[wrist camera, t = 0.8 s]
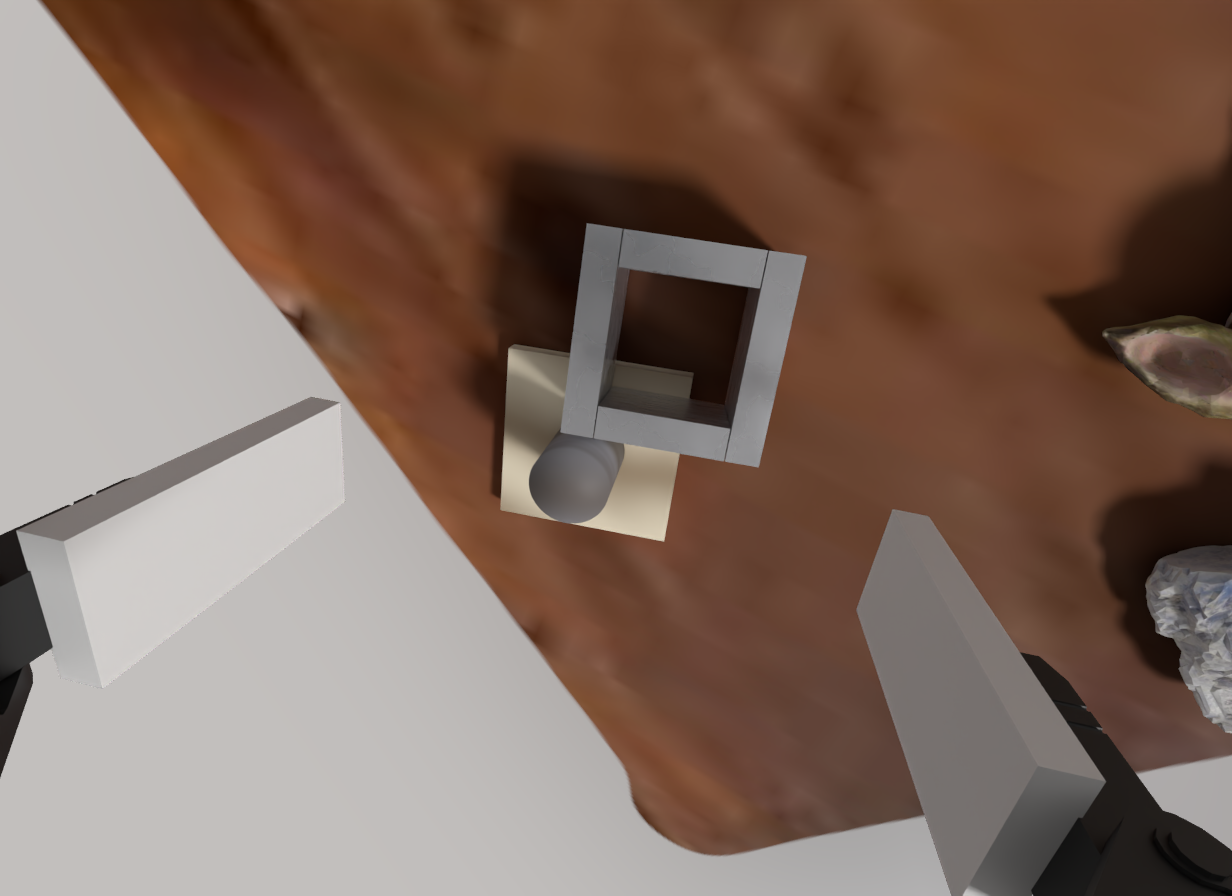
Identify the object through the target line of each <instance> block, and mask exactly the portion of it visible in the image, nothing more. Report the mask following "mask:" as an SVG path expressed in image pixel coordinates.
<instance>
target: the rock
mask: <svg viewBox="0 0 1232 896" xmlns="http://www.w3.org/2000/svg"><path fill="white" fill-rule="evenodd" d="M1145 587H1146V590H1147V594H1146V598H1147V606H1148V608H1149V611H1150V613H1151V616H1152V617H1153V619H1154V620H1155V628H1156V632H1157V633H1159V634H1161V635H1163V636H1166V637H1170V638H1174V640H1175V642H1176V644H1177V646H1178V647H1179V648H1180V650H1181V657H1180V659H1179V661H1180V666H1181V667H1180V668H1178V669H1179V671H1180V673H1181V676H1182V678H1183V680H1184V682H1185V684H1186V685H1187V686H1188V689H1189V690H1192V691H1193V693H1194V698H1195V700H1196V701H1197V703H1198V705H1199V706H1200V708H1201V710H1202V713H1203V716H1205V717H1207V718H1208V719H1209V720H1210V721H1211V722H1212V723H1215V724H1217V725H1218V726H1219V727H1220V728H1221V729H1222V730H1223V731H1224V732H1228V733H1232V545H1226V546H1215V545H1212V546H1202V547H1194V548H1190V549H1187V550H1183V551H1179V552H1178V553H1175V554H1171V555H1167V556H1165V557H1163V558H1161V559H1159V560H1158V562H1157V563H1156V565H1155V567H1154V569H1153V572H1152V574H1151V575H1150V576H1149V577H1148V579H1147V581H1146V584H1145Z"/></svg>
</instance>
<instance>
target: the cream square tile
mask: <svg viewBox="0 0 1232 896" xmlns="http://www.w3.org/2000/svg"><path fill="white" fill-rule="evenodd" d="M569 360H570V353H567V352H560V351H554V350H548V349H542V348H535V347H529V346H523V345H517V344H514V345H512V346H511V347H509V348H508V368H507V388H506V409H505V429H504V449H503V469H502V489H501V509H500V510H503V511H508V512H513V513H519V514H524V515H529V516H534V517H539V518H545V519H550V520H555V521H560V522H564V523H571V524H576V525H581V526H586V527H592V528H597V529H602V530H607V531H612V532H618V533H623V534H628V535H633V536H638V537H644V538H649V539H654V540H659V541H664V539H665V533H666V527H667V522H668V516H669V510H670V505H671V499H672V493H673V488H674V482H675V476H676V471H677V465H678V459H679V454H680V453H674V452H669V451H663V450H657V449H652V448H646V447H640V446H634V445H629V444H623V443H617V442H612V441H606V440H600V439H595V438H594V437H593V438H589V437H583V436H578V435H572V434H566V433H561V432H560V431H561V423H562V415H563V407H564V399H565V392H566V384H567V376H568V368H569ZM693 375H694V373H691V372H685V371H678V370H672V369H666V368H660V367H654V366H647V365H641V364H635V363H629V362H622V361H616V365H615V372H614V378H613V385H612V387H613V386H617V387H623V388H629V389H635V390H641V391H647V392H653V393H659V394H664V395H670V396H676V397H682V398H688V399H689V397H690V392H691V386H692V380H693Z"/></svg>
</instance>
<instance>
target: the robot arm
mask: <svg viewBox="0 0 1232 896" xmlns="http://www.w3.org/2000/svg"><path fill="white" fill-rule="evenodd" d="M344 502H345V492H344V471H343V451H342V429H341V409H340V402H335V401H330V400H324V399H319V398H314V397H310V398H308V399H305V400H303V401H301V402H299V403H297V404H294V405H292V406H290V407H288V408H286V409H283V410H281V411H279V412H277V413H275V414H272V415H270V416H268V417H266V418H263V419H262V420H259V421H257V422H255V423H252V424H251V425H248V426H246V427H244V428H242V429H240V430H237V431H235V432H233V433H230V434H228V435H226V436H224V437H222V438H219V439H217V440H215V441H213V442H211V443H208V444H206V445H204V446H202V447H200V448H198V449H195V450H193V451H191V452H189V453H186V454H184V455H182V456H180V457H177V458H175V459H173V460H171V461H169V462H167V463H164V464H162V465H160V466H158V467H156V468H153V469H151V470H149V471H147V472H145V473H142V474H140V475H138V476H136V477H132V478H128V479H124V480H122V481H120V482H118V483H115V484H113V485H111V486H109V487H107V488H104V489H102V490H100V491H98V492H97V493H96V495H92V494H91V495H89V496H86V497H84V498H82V499H80V500H78V501H75V502H74V504H73V505H72V506H71V505H67V506H65V507H62V508H60V509H58V510H55V511H53V512H51V513H49V514H46V515H44V516H42V517H40V518H38V519H35V520H33V521H31V522H29V523H27V524H24V525H22V526H20V527H18V528H15V529H13V530H11V531H9V532H6V533H4V534H2V535H0V777H1V773H2V771H3V768H4V765H5V762H6V759H7V756H8V754H9V751H10V748H11V745H12V742H13V739H14V736H15V733H16V730H17V727H18V725H19V722H20V719H21V716H22V713H23V710H24V707H25V704H26V701H27V698H28V695H29V693H30V690H31V687H32V684H33V673H32V670H31V667H30V664H29V663H30V662H31V661H33V660H34V659H36V658H37V657H39V656H41V655H42V654H44V653H45V652H47V651H48V650H50V649H52V653H53V656H54V659H55V662H56V666H57V669H58V673H59V676H60V678H62V679H66V680H70V681H74V682H78V683H81V684H85V685H89V686H93V687H97V688H101V689H103V688H104V687H105V686H107V685H108V684H110V683H111V682H112V681H113V680H115V679H116V678H117V677H119V676H120V675H121V674H122V673H124V672H125V671H126V670H128V669H129V668H130V667H132V666H133V665H134V664H135V663H137V662H138V661H139V660H141V659H142V658H143V657H144V656H146V655H147V654H148V653H150V652H151V651H152V650H154V649H155V648H156V647H157V646H159V645H160V644H161V643H162V642H164V641H165V640H167V639H168V638H169V637H170V636H172V635H173V634H174V633H176V632H177V631H178V630H179V629H181V628H182V627H183V626H184V625H186V624H187V623H189V622H190V621H191V620H193V619H194V618H195V617H196V616H198V615H199V614H200V613H201V612H203V611H204V610H205V609H207V608H208V607H209V606H211V605H212V604H213V603H215V602H216V601H217V600H218V599H220V598H221V597H222V596H223V595H225V594H226V593H228V591H230V590H231V589H233V588H234V587H235V586H237V585H238V584H239V583H240V582H242V581H243V580H244V579H246V578H247V577H248V576H250V575H251V574H252V573H253V572H255V571H256V570H257V569H259V568H260V567H261V566H262V565H264V564H265V563H266V562H268V561H269V560H270V559H272V558H273V557H274V556H275V555H277V554H278V553H279V552H281V551H282V550H283V549H285V548H286V547H287V546H288V545H290V544H291V543H292V542H293V541H295V540H296V539H298V538H299V537H300V536H301V535H303V534H304V533H305V532H307V531H308V530H309V529H310V528H312V527H313V526H314V525H316V524H317V523H318V522H320V521H321V520H322V519H323V518H325V517H326V516H327V515H329V514H330V513H331V512H333V511H334V510H335V509H336V508H338V507H339V506H340V505H342V504H343V503H344ZM857 613H858V616H859V619H860V622H861V625H862V628H863V631H864V634H865V637H866V640H867V643H868V646H869V649H870V652H871V655H872V658H873V661H874V664H875V667H876V670H877V673H878V676H879V679H880V682H881V685H882V688H883V691H884V694H885V697H886V700H887V703H888V707H889V710H890V713H891V716H892V719H893V722H894V725H895V728H896V731H897V734H898V737H899V740H900V743H901V746H902V749H903V752H904V755H905V758H906V761H907V764H908V767H909V770H910V773H911V776H912V779H913V782H914V785H915V788H916V791H917V794H918V797H919V800H920V803H921V806H922V809H923V812H924V815H925V818H926V821H927V824H928V827H929V830H930V833H931V836H932V839H933V841H934V845H935V848H936V851H937V854H938V857H939V860H940V863H941V866H942V869H943V872H944V875H945V878H946V881H947V884H948V887H949V890H950V893H951V896H1032V894H1033V896H1232V851H1231V850H1230V849H1229V848H1228V847H1226V846H1225V845H1224V844H1222V843H1221V842H1220V841H1218V840H1217V839H1216V838H1214V837H1213V836H1211V835H1210V834H1209V833H1207V832H1206V831H1205V830H1203V829H1202V828H1200V827H1198V826H1196V825H1194V824H1192V823H1190V822H1188V821H1187V820H1185V819H1183V818H1181V817H1179V816H1177V815H1175V814H1172V813H1169V812H1165V811H1163V810H1162V809H1161V808H1160V807H1159V805H1158V804H1157V802H1156V801H1155V800H1154V798H1153V797H1152V795H1151V794H1150V793H1149V791H1148V790H1147V789H1146V787H1145V786H1144V784H1143V783H1142V782H1141V780H1140V779H1139V778H1138V776H1137V775H1136V773H1135V772H1134V771H1133V769H1132V768H1131V767H1130V765H1129V764H1128V763H1127V761H1126V760H1125V758H1124V757H1123V756H1122V754H1121V753H1120V752H1119V750H1118V749H1117V748H1116V746H1115V745H1114V743H1113V742H1112V741H1111V739H1110V738H1109V737H1108V735H1107V734H1104V733H1102V729H1103V728H1102V727H1101V726H1100V724H1099V723H1098V722H1097V720H1096V719H1095V717H1094V716H1093V715H1092V713H1091V712H1088V711H1086V705H1085V704H1084V702H1083V701H1082V700H1081V698H1080V697H1079V696H1078V694H1077V693H1076V691H1075V690H1074V689H1073V687H1072V686H1071V685H1070V683H1069V682H1068V681H1067V680H1066V679H1065V678H1064V677H1063V676H1061V675H1060V674H1059V673H1058V672H1057V671H1056V670H1054V669H1053V668H1052V667H1051V666H1050V665H1049V664H1047V663H1046V662H1045V661H1044V660H1043V659H1042V658H1040V657H1039V656H1035V655H1030V654H1025V653H1021V652H1019V651H1018V649H1017V648H1016V646H1015V645H1014V643H1013V642H1012V640H1011V639H1010V637H1009V636H1008V634H1007V633H1006V631H1005V630H1004V628H1003V627H1002V625H1001V624H1000V622H999V621H998V619H997V618H996V616H995V615H994V613H993V612H992V610H991V609H990V607H989V606H988V604H987V603H986V601H985V600H984V598H983V597H982V595H981V594H980V592H979V591H978V590H977V588H976V587H975V585H974V584H973V582H972V581H971V579H970V578H969V576H968V575H967V573H966V572H965V570H964V569H963V567H962V566H961V564H960V563H959V561H958V560H957V558H956V557H955V555H954V554H953V552H952V551H951V549H950V548H949V546H948V545H947V543H946V542H945V540H944V539H943V537H942V536H941V534H940V533H939V531H938V530H937V528H936V527H935V525H934V524H933V522H932V521H931V519H930V518H929V516H925V515H920V514H914V513H909V512H904V511H899V510H894V509H893V510H892V513H891V515H890V518H889V521H888V524H887V527H886V529H885V532H884V535H883V538H882V540H881V543H880V546H879V549H878V551H877V554H876V557H875V560H874V562H873V565H872V568H871V571H870V574H869V576H868V579H867V582H866V585H865V587H864V590H863V593H862V596H861V598H860V601H859V604H858V607H857Z"/></svg>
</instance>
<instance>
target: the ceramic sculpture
mask: <svg viewBox="0 0 1232 896" xmlns="http://www.w3.org/2000/svg"><path fill="white" fill-rule="evenodd" d="M1102 336H1103V337H1104V338H1105V340H1106V341H1107V342H1108V344H1109V345H1110V346H1111V348H1112V349H1113V350H1114V352H1115V354H1116V356H1117V358H1118V360H1119V361H1120V362H1121V363H1123V364H1124V365H1125V367H1126V368H1127V369H1128V370H1129V371H1130V372H1132V373H1133V374H1134V375H1135V376H1136V377H1137V378H1139V379H1140V380H1141V381H1142V382H1143V383H1144V384H1145V385H1146V386H1148V387H1149V388H1150V389H1152V390H1153V391H1154V392H1156V393H1157V394H1158V395H1160V396H1161V397H1162V398H1163V399H1165V400H1166V401H1169V402H1172V403H1176V404H1179V405H1181V406H1183V407H1186V408H1188V409H1190V410H1192V411H1194V412H1196V413H1198V414H1199V415H1201V416H1203V417H1210V418H1223V419H1232V313H1231V314H1230V316H1229V318H1228V320H1227V322H1226V325H1225V326H1223V325H1219V324H1215V323H1211V322H1208V321H1205V320H1202V319H1199V318H1197V317H1193V316H1182V315H1177V316H1172V317H1168V318H1163V319H1158V320H1154V321H1149V322H1145V323H1141V324H1136V325H1132V326H1123V327H1113V328H1108V329H1105V330H1104V331H1103V332H1102Z"/></svg>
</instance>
